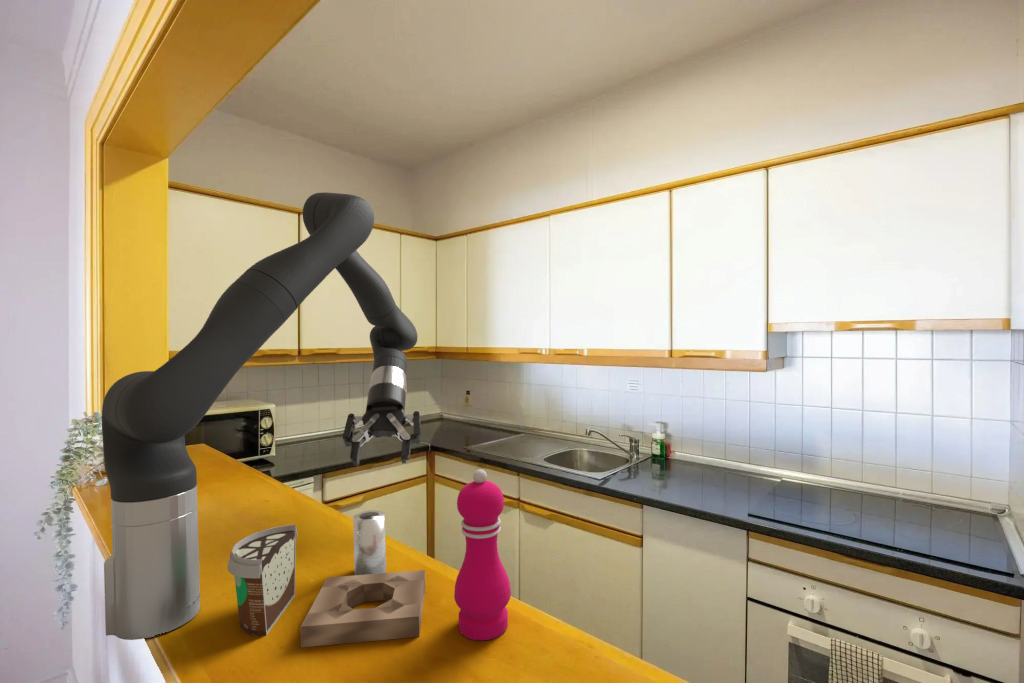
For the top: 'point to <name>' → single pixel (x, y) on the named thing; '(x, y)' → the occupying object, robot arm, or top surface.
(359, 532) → the bushing
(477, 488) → the pepper mill
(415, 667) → the top surface
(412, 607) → the frame
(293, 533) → the food container
